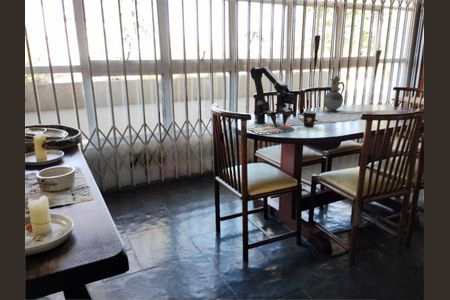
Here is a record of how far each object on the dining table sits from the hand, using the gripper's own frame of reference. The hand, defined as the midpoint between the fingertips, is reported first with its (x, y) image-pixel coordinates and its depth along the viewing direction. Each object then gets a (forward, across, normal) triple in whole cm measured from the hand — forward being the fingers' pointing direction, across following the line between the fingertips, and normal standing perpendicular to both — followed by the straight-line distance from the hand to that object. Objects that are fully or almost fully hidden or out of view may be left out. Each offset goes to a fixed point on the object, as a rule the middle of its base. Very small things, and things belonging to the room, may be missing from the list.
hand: (279, 125), depth 221 cm
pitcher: (+1, +78, +30) cm, 84 cm away
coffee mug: (+2, +20, -5) cm, 20 cm away
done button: (0, -1, -10) cm, 10 cm away
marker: (+1, 0, 0) cm, 1 cm away
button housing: (+1, -1, -10) cm, 10 cm away
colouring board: (+1, -14, -5) cm, 15 cm away
